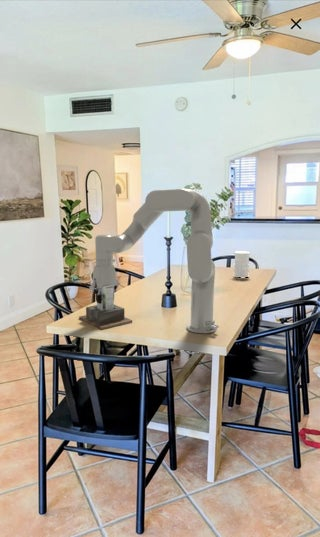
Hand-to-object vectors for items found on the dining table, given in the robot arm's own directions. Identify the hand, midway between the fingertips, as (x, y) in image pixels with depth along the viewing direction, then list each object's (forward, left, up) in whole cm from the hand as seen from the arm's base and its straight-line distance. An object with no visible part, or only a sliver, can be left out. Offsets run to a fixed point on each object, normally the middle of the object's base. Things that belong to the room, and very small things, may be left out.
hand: (105, 301), depth 177 cm
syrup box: (0, 0, -7) cm, 7 cm away
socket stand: (0, 0, -9) cm, 9 cm away
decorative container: (+26, -131, -9) cm, 134 cm away
